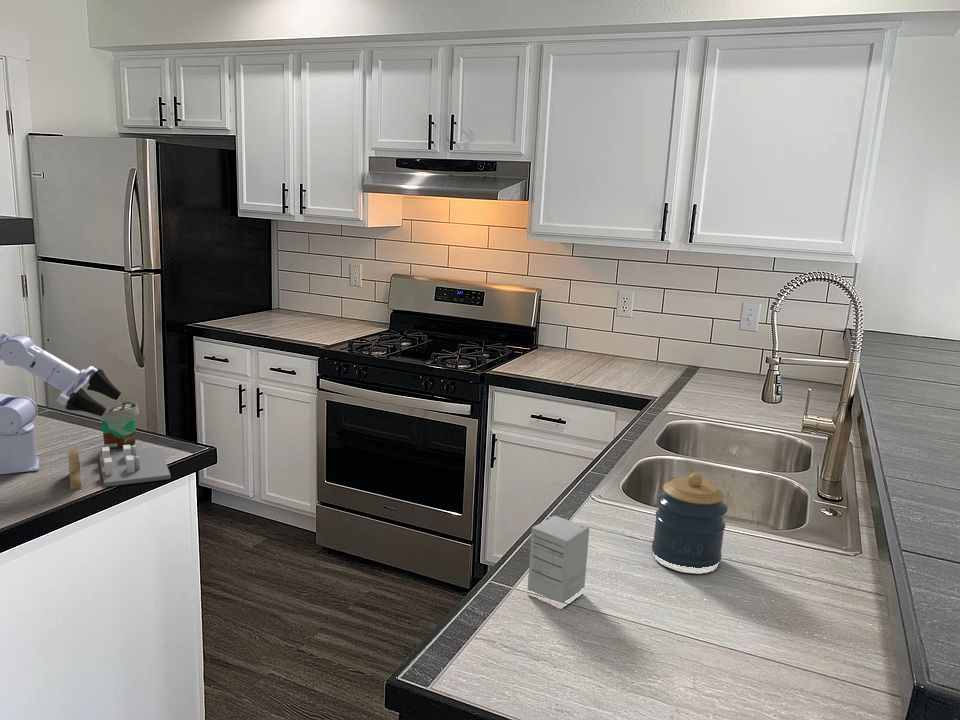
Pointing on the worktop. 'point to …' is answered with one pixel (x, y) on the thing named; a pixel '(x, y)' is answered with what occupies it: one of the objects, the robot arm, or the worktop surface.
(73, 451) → the oak block
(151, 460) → the board
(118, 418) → the food container
